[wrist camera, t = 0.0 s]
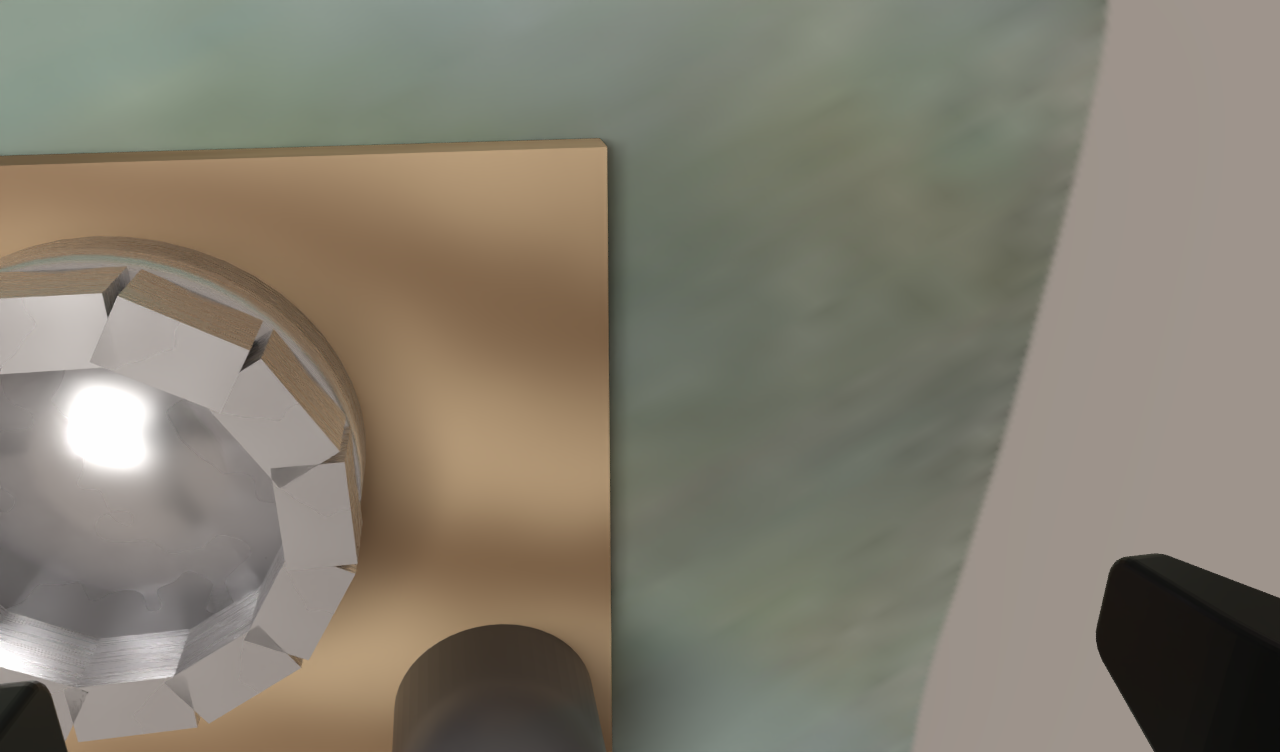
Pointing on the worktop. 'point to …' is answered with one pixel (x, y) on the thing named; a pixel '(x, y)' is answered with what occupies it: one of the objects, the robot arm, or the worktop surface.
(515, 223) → the board
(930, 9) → the worktop surface
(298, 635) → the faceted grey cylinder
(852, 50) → the worktop surface
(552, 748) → the cap
